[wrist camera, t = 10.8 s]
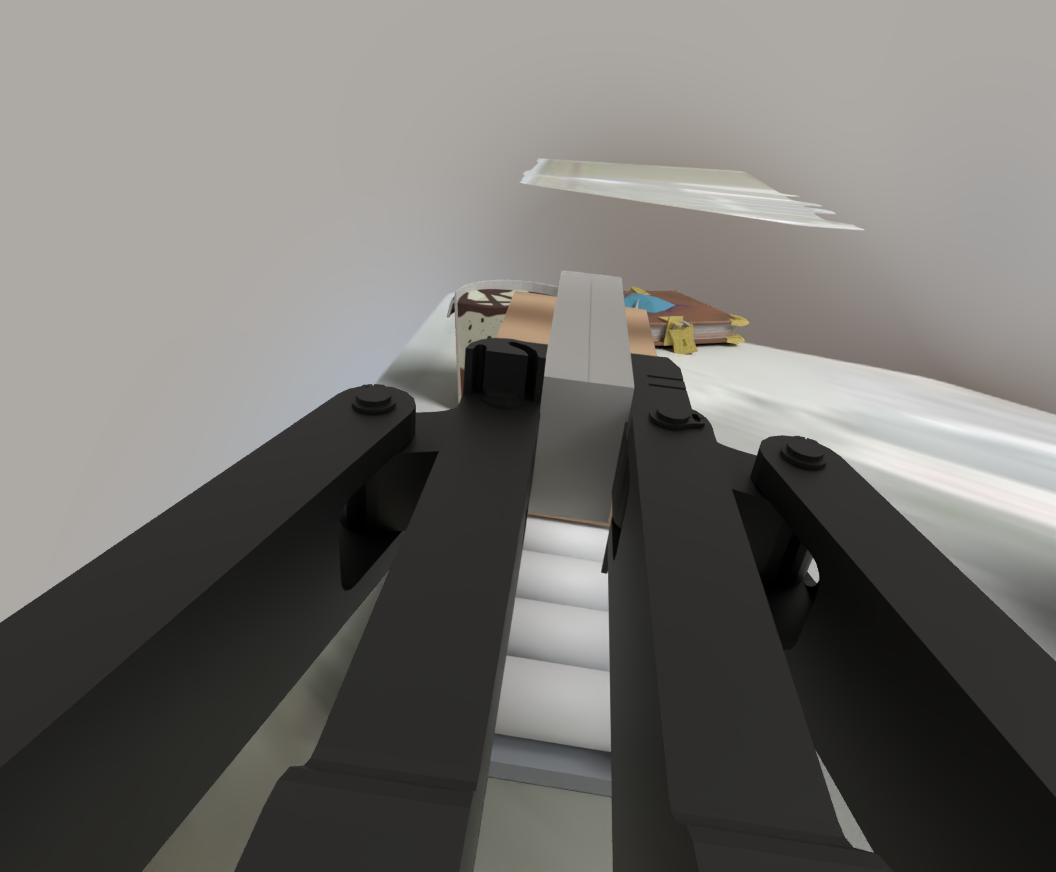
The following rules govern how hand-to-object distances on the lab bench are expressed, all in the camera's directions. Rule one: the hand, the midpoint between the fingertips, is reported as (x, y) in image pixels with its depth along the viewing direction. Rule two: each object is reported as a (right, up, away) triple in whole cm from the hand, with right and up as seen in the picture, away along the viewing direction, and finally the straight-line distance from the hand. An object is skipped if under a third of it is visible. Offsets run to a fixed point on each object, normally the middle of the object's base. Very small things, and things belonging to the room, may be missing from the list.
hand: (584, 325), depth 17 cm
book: (+10, +9, +60) cm, 62 cm away
